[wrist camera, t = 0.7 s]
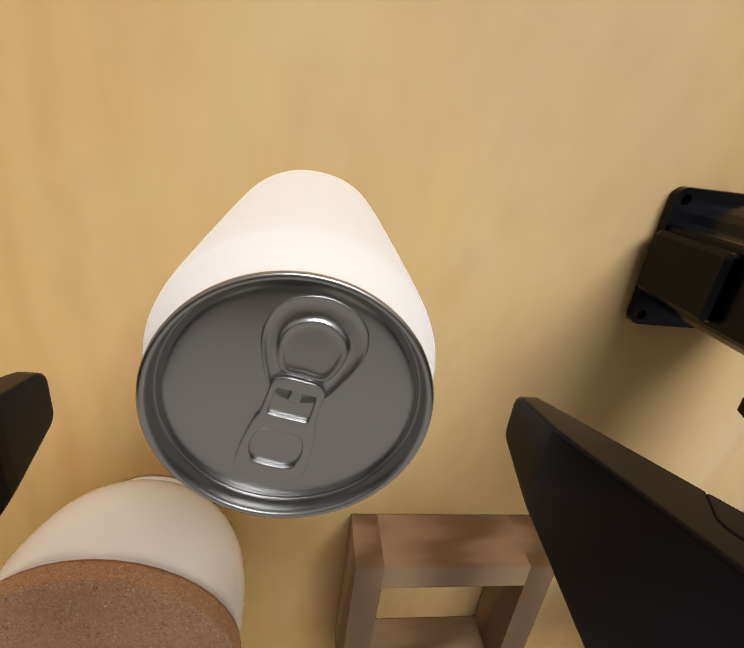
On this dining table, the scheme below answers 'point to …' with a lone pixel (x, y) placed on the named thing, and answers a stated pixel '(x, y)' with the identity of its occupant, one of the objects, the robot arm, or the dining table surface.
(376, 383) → the can
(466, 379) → the dining table surface
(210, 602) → the lidded jar
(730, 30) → the dining table surface
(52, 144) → the dining table surface
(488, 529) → the sleeve block
